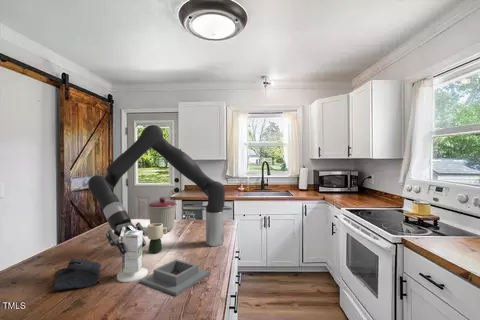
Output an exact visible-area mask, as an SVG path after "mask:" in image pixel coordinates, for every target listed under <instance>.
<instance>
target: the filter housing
mask: <svg viewBox="0 0 480 320" xmlns="http://www.w3.org/2000/svg"><path fill="white" fill-rule="evenodd" d="M152 272H153V273H151V274H148V275H147V276H146V277H145V278H143V279H140V280H139V282H140V283H141V284H144V285H146V286H149V287H152V288H154V289H157V290H160V291H163V292H166V293H168V294H170V295H173V296H175V297H177V296H179V295H180V294H182V293H183V292H185V291H186V290H188V289H189V288H191V287H193V286H194V285H195V284H197V283H199V282H201V281H202V280H203V279H205V278H206V277H208V276H209V275H211V271H209V270H205V269H202V268H199V265H198V264H195V263H191V262H188V261H184V260H181V259H177V258H176V259H174V260H172V261H170V262H168V263H165V264H163V265H161V266H159V267H157V268H155V269H153V271H152ZM175 272H180V273H178V274H175ZM173 273H174V274H173Z"/></svg>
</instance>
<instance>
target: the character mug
mask: <svg viewBox="0 0 480 320" xmlns="http://www.w3.org/2000/svg"><path fill="white" fill-rule="evenodd" d="M164 229H165V232H163V230H164ZM144 230H145V232H147V233H146V234H145V235H144V236H143V237H147V239H148V240H149V243H148V252H150V253H159V252H161V251H162V250H163V245H162V238H163V235H166V234H167V233H168V232H167V228H166V227H165V228H163V224H161V223H153V224H150V223H149V224H147V228H145V229H144Z"/></svg>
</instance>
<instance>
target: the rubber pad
mask: <svg viewBox="0 0 480 320" xmlns="http://www.w3.org/2000/svg"><path fill="white" fill-rule="evenodd" d="M147 276H149V269H147V268H145V267H141V268H140V269H139V271H138V272H135V273H122V271H119V273H118V274H117V275H116V280H117V281H118V282H120V283H125V284H126V283H128V284H129V283H134V282H140V279H143V278H145V277H147Z"/></svg>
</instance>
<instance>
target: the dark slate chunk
mask: <svg viewBox="0 0 480 320" xmlns="http://www.w3.org/2000/svg"><path fill="white" fill-rule="evenodd" d="M101 266H102V265H101V263H98V262H94V261H91V260H89V259H87V258H75V257H74V258H71V259H70V261H69V262H68V265H67V267H64V268H60V269H58V270H57V271H56V274H55V279H54V284H53V289H54V290H55V291H63V290H70V289H71V290H72V289H80V288H81V289H83V288H89V287H93V286H96V285H97V284H98V280H99V277H100V273H101V272H100V271H101Z"/></svg>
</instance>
